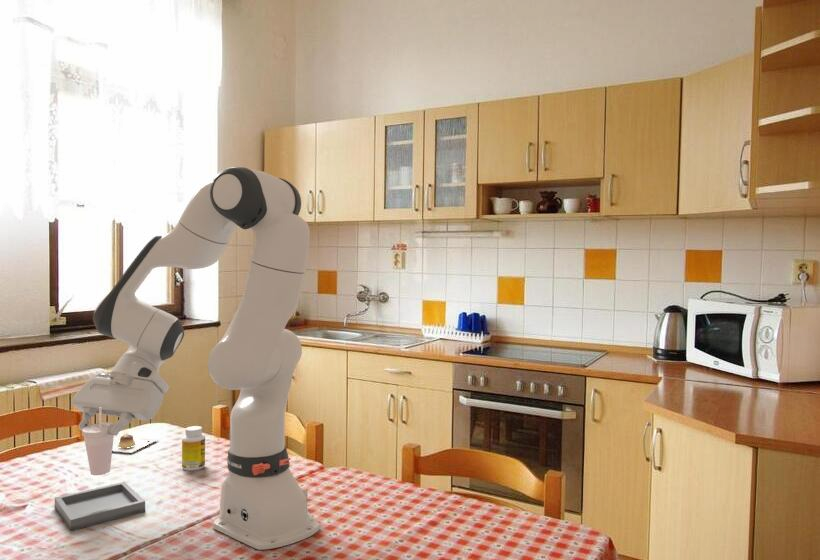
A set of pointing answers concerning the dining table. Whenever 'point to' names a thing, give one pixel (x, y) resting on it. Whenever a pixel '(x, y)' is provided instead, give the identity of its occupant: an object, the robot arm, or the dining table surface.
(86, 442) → the smoothie
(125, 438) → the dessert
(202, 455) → the supplement bottle
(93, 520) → the tray
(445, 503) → the dining table surface
